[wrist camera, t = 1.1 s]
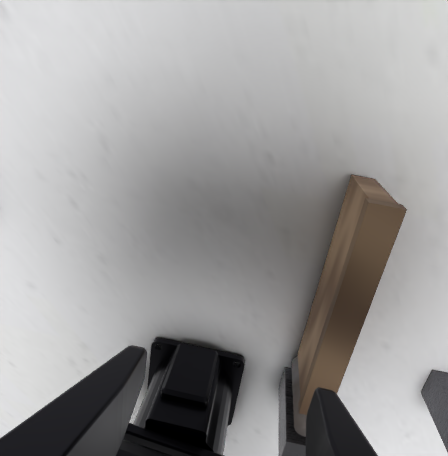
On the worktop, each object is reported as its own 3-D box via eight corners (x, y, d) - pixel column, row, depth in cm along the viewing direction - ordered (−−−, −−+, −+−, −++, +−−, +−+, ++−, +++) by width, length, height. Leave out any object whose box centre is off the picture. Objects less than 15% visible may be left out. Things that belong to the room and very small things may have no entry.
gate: (313, 376, 24) (320, 440, 20) (288, 371, 24) (291, 433, 20) (379, 179, 18) (408, 209, 14) (347, 173, 19) (367, 202, 14)
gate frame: (460, 399, 24) (509, 486, 19) (279, 394, 26) (278, 471, 21) (465, 370, 23) (518, 453, 18) (277, 367, 25) (276, 440, 20)
